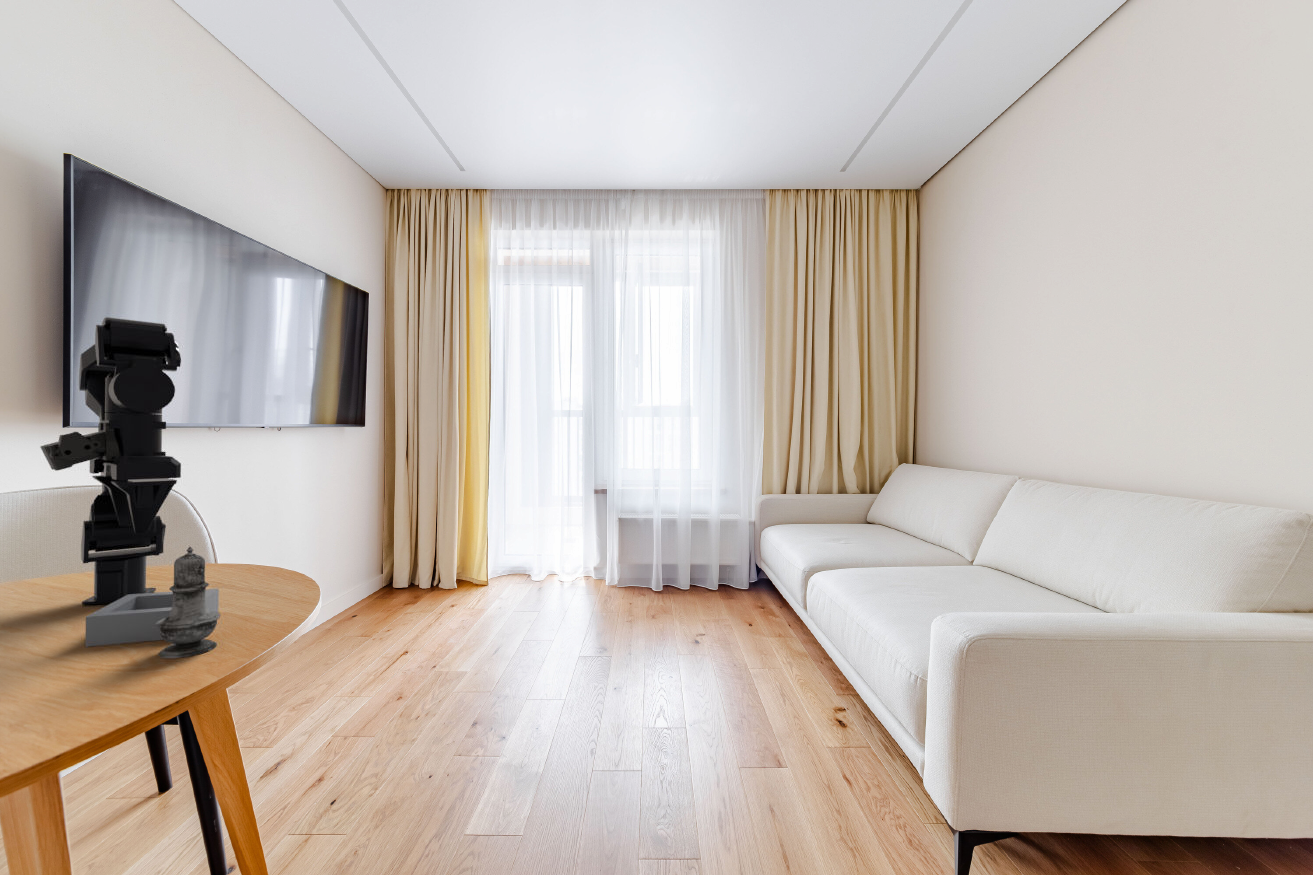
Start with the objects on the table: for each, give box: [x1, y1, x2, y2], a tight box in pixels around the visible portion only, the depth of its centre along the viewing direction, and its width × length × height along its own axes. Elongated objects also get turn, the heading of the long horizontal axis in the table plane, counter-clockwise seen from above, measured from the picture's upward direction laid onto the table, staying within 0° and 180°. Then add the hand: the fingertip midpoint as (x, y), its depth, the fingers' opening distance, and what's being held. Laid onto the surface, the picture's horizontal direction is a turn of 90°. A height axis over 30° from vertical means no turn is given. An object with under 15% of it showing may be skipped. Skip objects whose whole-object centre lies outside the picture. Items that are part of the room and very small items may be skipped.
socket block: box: [85, 588, 220, 648], centre depth 74 cm, size 10×10×4 cm
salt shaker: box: [156, 546, 221, 660], centre depth 67 cm, size 6×6×12 cm
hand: (132, 529), depth 78 cm, fingers open, 9 cm apart
